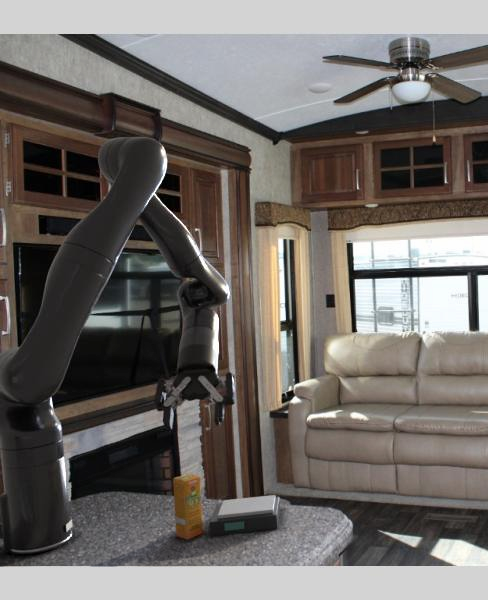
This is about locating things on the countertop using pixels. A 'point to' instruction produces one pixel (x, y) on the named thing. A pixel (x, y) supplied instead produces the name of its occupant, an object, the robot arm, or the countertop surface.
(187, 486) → the supplement box
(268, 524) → the scale
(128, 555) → the countertop surface
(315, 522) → the countertop surface
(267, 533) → the countertop surface
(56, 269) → the robot arm
